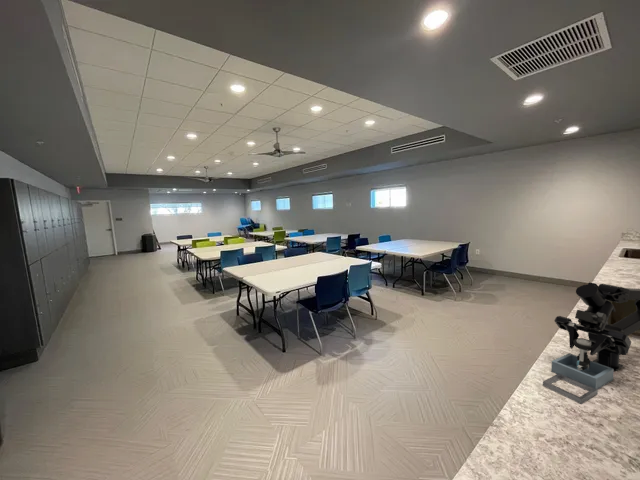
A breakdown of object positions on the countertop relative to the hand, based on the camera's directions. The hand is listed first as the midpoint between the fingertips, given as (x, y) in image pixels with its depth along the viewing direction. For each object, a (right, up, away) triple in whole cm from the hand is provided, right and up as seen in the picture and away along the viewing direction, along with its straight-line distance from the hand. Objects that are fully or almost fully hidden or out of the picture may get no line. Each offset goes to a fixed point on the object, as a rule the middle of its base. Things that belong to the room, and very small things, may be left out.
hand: (580, 351), depth 93 cm
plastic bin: (+2, -9, +1) cm, 9 cm away
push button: (+2, -7, +1) cm, 7 cm away
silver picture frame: (-9, -10, -6) cm, 15 cm away
